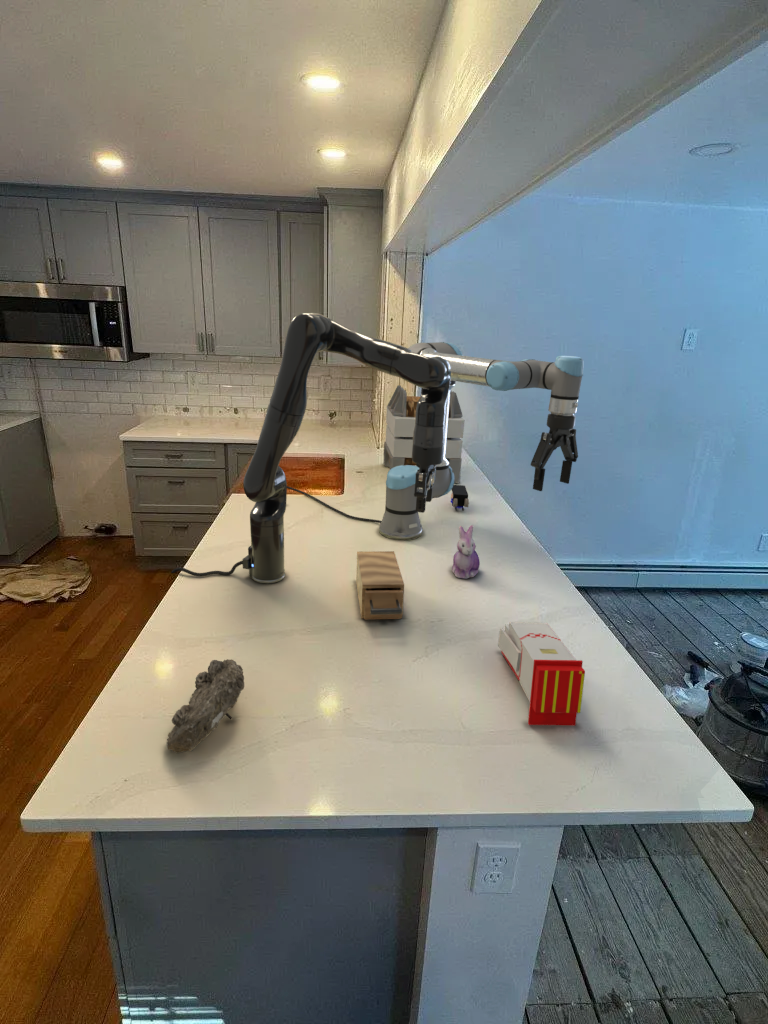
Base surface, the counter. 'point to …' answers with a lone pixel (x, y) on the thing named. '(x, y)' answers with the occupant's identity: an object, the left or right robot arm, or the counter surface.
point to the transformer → (402, 429)
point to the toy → (544, 672)
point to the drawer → (383, 603)
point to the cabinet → (377, 573)
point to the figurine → (466, 555)
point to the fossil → (206, 705)
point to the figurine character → (459, 497)
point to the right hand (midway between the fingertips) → (551, 486)
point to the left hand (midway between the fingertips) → (423, 506)
